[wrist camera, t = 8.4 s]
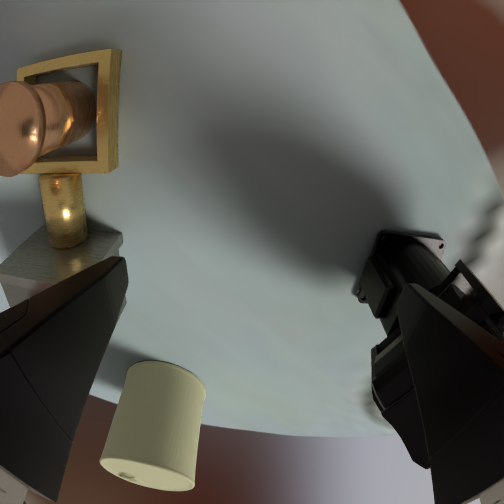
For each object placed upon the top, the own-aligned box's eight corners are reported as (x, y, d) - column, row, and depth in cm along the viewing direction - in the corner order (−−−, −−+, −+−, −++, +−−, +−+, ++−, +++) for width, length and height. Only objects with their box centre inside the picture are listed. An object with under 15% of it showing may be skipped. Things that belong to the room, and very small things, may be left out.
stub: (102, 72, 16) (38, 73, 10) (100, 145, 18) (41, 175, 12) (43, 81, 15) (-24, 92, 9) (44, 148, 18) (-18, 178, 12)
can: (111, 374, 31) (81, 462, 20) (163, 349, 28) (134, 460, 17) (168, 412, 34) (152, 495, 24) (223, 395, 32) (215, 493, 21)
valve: (117, 167, 19) (40, 224, 11) (131, 303, 25) (94, 387, 17) (32, 168, 19) (-48, 218, 11) (57, 291, 25) (10, 360, 17)
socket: (121, 50, 15) (111, 48, 14) (118, 166, 19) (108, 173, 18) (30, 67, 15) (16, 68, 13) (32, 167, 19) (20, 174, 17)
